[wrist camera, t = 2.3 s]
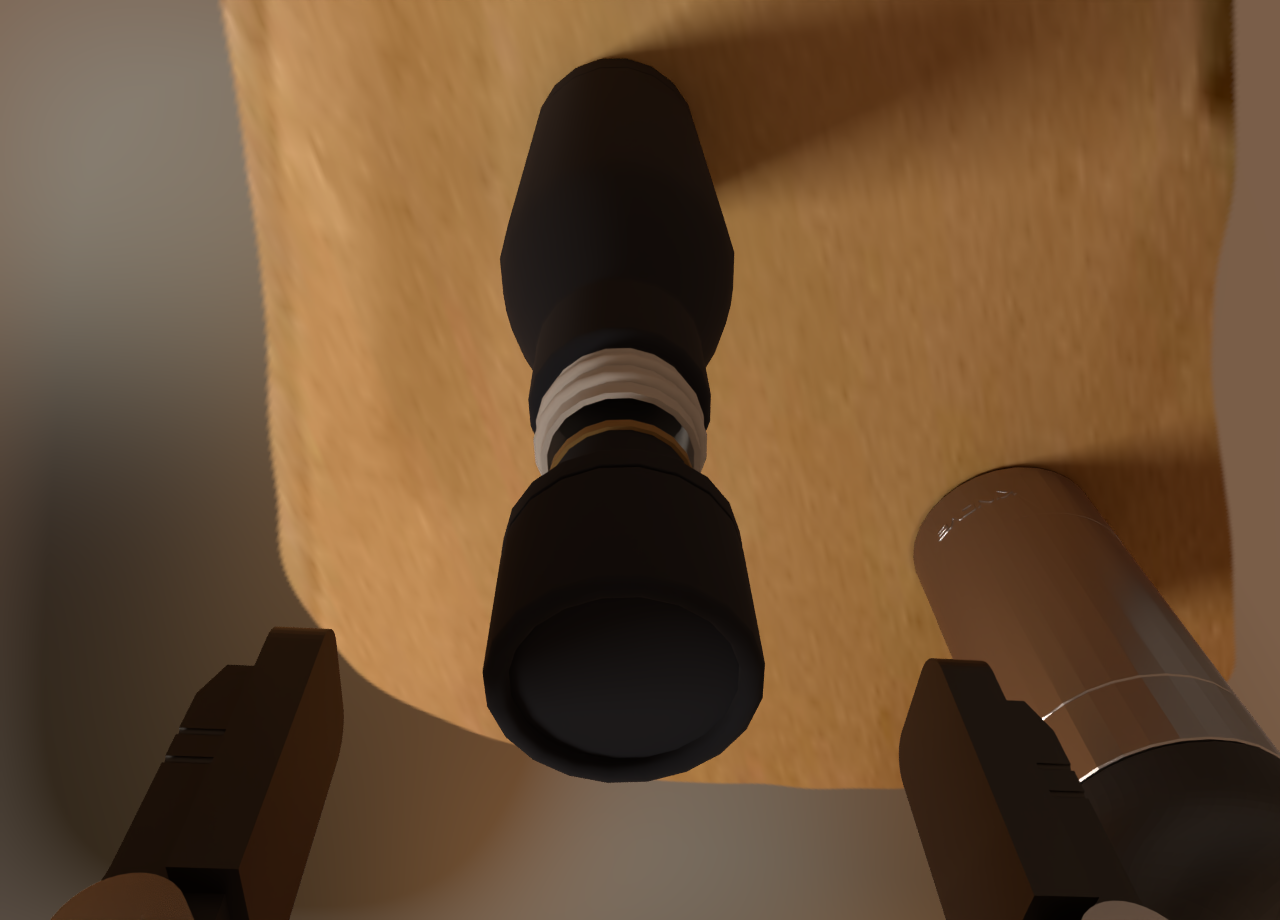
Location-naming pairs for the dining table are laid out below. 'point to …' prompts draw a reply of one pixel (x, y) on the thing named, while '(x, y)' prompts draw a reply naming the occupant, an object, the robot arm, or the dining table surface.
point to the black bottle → (620, 447)
